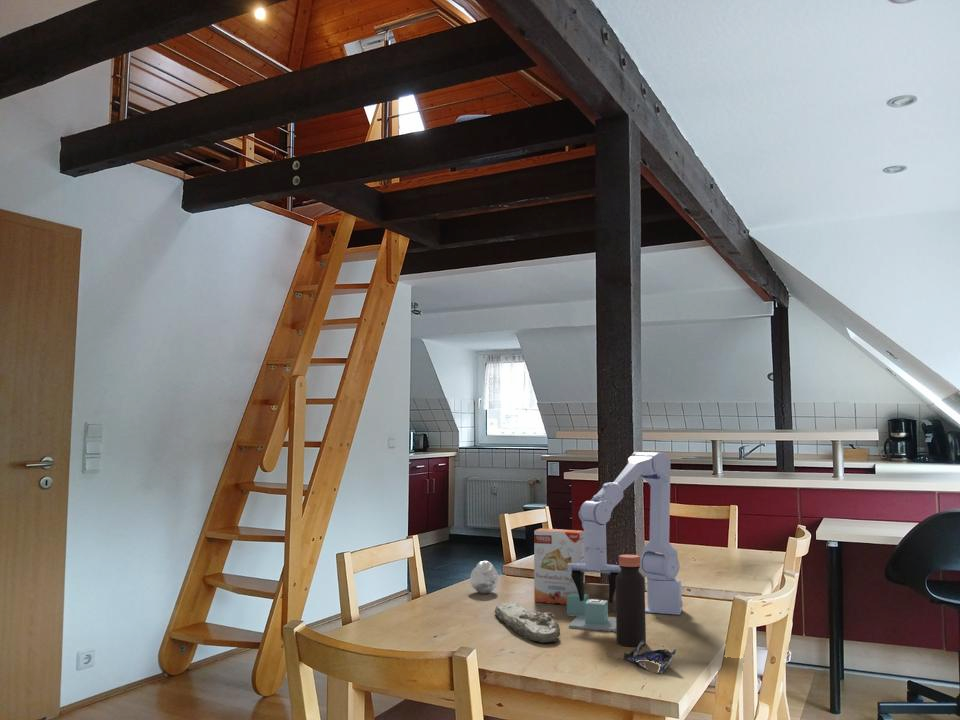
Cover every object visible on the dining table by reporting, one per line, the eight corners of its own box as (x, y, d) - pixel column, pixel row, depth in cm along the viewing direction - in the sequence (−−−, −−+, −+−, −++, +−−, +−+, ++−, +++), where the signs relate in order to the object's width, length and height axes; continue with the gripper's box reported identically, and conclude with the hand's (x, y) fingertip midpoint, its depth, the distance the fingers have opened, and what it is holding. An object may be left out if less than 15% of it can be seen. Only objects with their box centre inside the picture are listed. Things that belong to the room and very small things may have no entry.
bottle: (625, 637, 179) (623, 552, 181) (651, 642, 174) (649, 555, 176) (611, 643, 173) (609, 556, 176) (637, 648, 169) (635, 559, 171)
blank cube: (588, 612, 205) (588, 594, 205) (585, 616, 200) (584, 597, 201) (571, 611, 206) (570, 592, 207) (567, 615, 202) (566, 596, 202)
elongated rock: (520, 616, 207) (486, 620, 204) (519, 596, 208) (485, 601, 205) (571, 641, 174) (532, 647, 171) (569, 618, 175) (530, 623, 172)
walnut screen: (628, 610, 207) (628, 584, 208) (626, 613, 203) (625, 587, 204) (582, 606, 211) (582, 581, 212) (579, 609, 208) (579, 584, 208)
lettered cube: (608, 620, 193) (607, 599, 194) (604, 624, 189) (604, 603, 189) (589, 618, 195) (588, 597, 196) (585, 623, 190) (584, 601, 191)
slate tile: (623, 620, 195) (623, 618, 195) (616, 631, 184) (616, 629, 184) (578, 617, 199) (578, 614, 199) (568, 627, 188) (568, 625, 188)
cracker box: (533, 602, 217) (533, 529, 219) (539, 598, 223) (539, 527, 225) (580, 606, 212) (579, 532, 214) (585, 602, 217) (584, 529, 220)
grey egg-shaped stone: (466, 595, 227) (466, 562, 228) (473, 589, 236) (473, 557, 237) (495, 597, 225) (495, 563, 226) (501, 591, 234) (501, 558, 235)
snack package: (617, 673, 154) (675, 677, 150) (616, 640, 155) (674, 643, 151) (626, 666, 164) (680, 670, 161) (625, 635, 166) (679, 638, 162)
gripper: (564, 548, 192) (565, 602, 191) (620, 551, 187) (622, 606, 186) (570, 544, 199) (571, 597, 198) (625, 547, 194) (626, 600, 193)
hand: (596, 601), depth 192 cm, fingers open, 7 cm apart
